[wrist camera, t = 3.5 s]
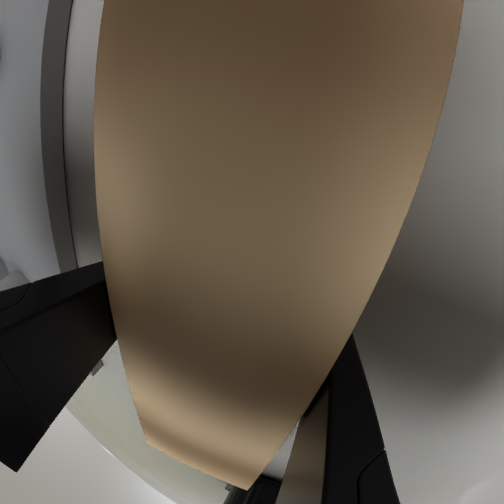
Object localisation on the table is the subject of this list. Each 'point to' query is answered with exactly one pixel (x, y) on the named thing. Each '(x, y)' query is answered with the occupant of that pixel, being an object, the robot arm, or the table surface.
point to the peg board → (33, 143)
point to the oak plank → (254, 199)
